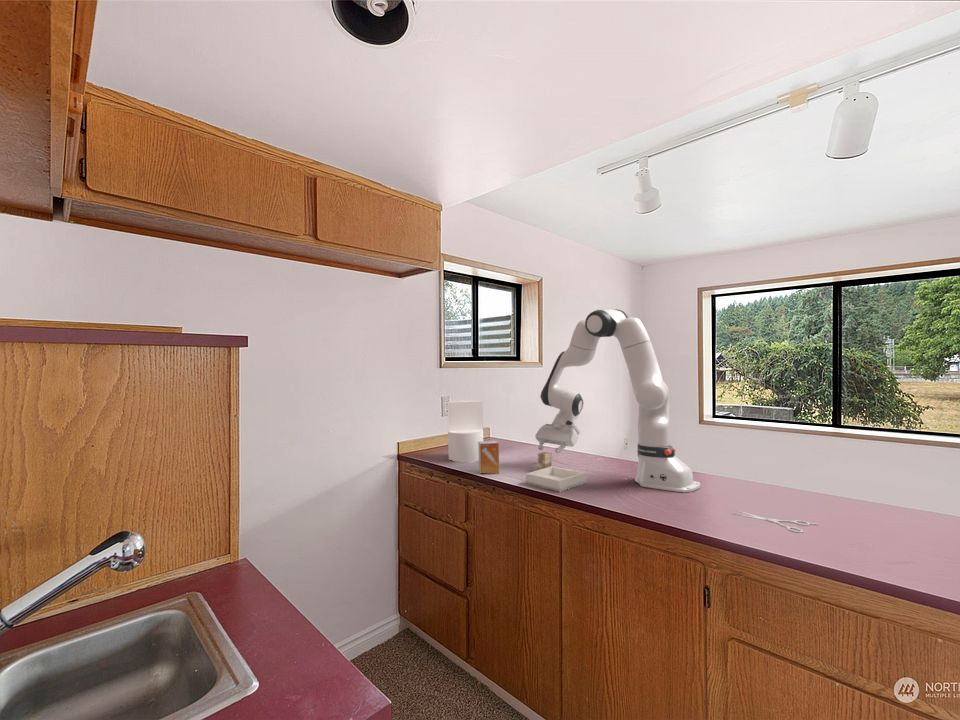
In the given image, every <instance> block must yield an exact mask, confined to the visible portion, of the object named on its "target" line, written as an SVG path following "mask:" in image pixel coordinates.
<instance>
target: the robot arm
mask: <svg viewBox="0 0 960 720" xmlns="http://www.w3.org/2000/svg"><path fill="white" fill-rule="evenodd" d="M610 337H611V338H612V337H614V338H616V339H617V341H618V343H619V346H620V349H621V351H622V355H623V357H624V360H625V364H626V366H627V369H628V373H629V378H630V383H631V386H632V389H633V394H634V396H635V399H636V402H637V403H638V418H637V419H638V420H637V429H638V430H637V431H638V432H637V434H638V435H637V436H638V443H637V458H638V463H637V469H636V470H637V471H636V475H635V478H634V481H635V482H636V483H637V484H639V486H640V487H643V488H650V489H656V490H662V491H669V492H670V491H671V492H677V493H691V492H694V491H697V490H699V489H700V488H701V483H700V482H699V481H696V480H694V475H693V474H694V473H693V471H692V469H691V467H690V466H688V465H687V464H686V463H684V462H683V461H682V460H681V459H679V458H678V457H677V456H676V452H677V451H678V450H677V447H673V446H672V445H671V443H670V441H671V440H670V439H671V438H670V390H669V389H670V388H669V387H668V385H667V384H666V382H664V379H663V376H662V375H663V374H662V372H661V369H660V366H659V362H658V359H657V355H656V352H655V349H654V347H653V343H652V341H651V339H650V336H649V333H648V331H647V329H646V327H645V326H644V324H643V322H642V321H641V319H640V318H638V317H632V316H631V317H629V315H628V314H627V313H626V312H624V311H623V310H620V309H617V308H615V309H613V308H612V309H610V308H604V309H596V310H593V311H591V312H590V313H589V314H588V315H587V316H586V318H585V319H582V320H580V321H578V322H577V324H576V325H575V327H574V331H573V333H572V336H571V339H570V343H569V346H568V347H567V349H566V350H565V351H561V352H560V354H559V355H558V357H557V358H556V360H555V362H554V364H553V366H552V370H551V372H550V373H549V376H548V378H547V380H546V382H545V384H544V386H543V387H542V390H541V392H540V396H539V397H540V400H541V402H542V403H543V405H545V406H548V407H552V408H554V409H558V410H559V412H558V413H557V414H556V415H555V416H554V419H553V420H552V421H551V423H546V424H543V425H542V426H541V427H540V428H539V429H538V430H537V432H536V433H535V434H534V435H535V440H536V441H537V442H538V443H539V445H538V446H537V447H538V450H540V451H543V450H544V449H545V446H544V445H545V444H551V445H557V447H556V448H555V453H556V454H560V453H561V452H562V450H564V449H565V448H566V447H569V448H570V447H571V448H572V447H575V445H576V444H577V441H578V439H579V435H580V434H581V430H580V428H579V426H578V425H577V424H576V423H575V421H576V420H577V419H578V418H579V416H580V413H581V412H582V410H583V408H584V399H583V396H582V395H581V394H580V393H578V392H577V391H575V390H572V389H568V388H565V387H563V386H560V385H558V382H559V380H560V377H561V376H562V373H563V371H564V369H565V368H568V367H569V368H570V367H581V366H586V365H588V364H589V363H591V362H592V361H593V359H594V356H595V354H596V350H597V348H598V347H597V346H598V343H599V340H600V339H601V338H610Z"/></svg>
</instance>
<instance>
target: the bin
mask: <svg viewBox="0 0 960 720" xmlns="http://www.w3.org/2000/svg"><path fill="white" fill-rule="evenodd" d="M586 476H587V475H586V472H583V471H577V470H572V469H568V468H564V467H558V466H554V465H552V466H551V467H548V468H544V469H541V470H538V469H537V470H533V471H531V472H526V473H525V484H526V485H529V486H532V485H533V487H536V486H537V487H536V488H541V489H544V488H545V490H548V489H551V490H550V491H552V490H555V491H554V492H556V491H559V492H558V493H561V492H560V491H562V492H564V491H563V490H565V491H568V490H570V488H571V489H574V488H576V486H577V487H579V485H580V486H582V485H585V484H587V483H586V481H587V477H586ZM573 487H574V488H573ZM567 489H568V490H567Z"/></svg>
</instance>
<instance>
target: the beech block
mask: <svg viewBox="0 0 960 720" xmlns="http://www.w3.org/2000/svg"><path fill="white" fill-rule="evenodd" d="M537 462H538V464H537V465H538V467H537V468H538V469H537V470H541V469H544V468H548V467H551V466H553V465H552V463H553V462H552V452H546V451H542V452H538V453H537Z"/></svg>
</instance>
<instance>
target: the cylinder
mask: <svg viewBox="0 0 960 720" xmlns="http://www.w3.org/2000/svg"><path fill="white" fill-rule="evenodd" d="M446 404H447V437H448V439H447V442H448V443H447V444H448V445H447V446H448V447H447V448H448V460H449V459H450V460H453V461H461V462H468V463H471V462H470V461H477V462H479V461H478V460H479V451H478V441H484V419H483V418H484V417H483V416H484V414H483V413H484V411H483V410H484V409H483V401H482V400H476V399H475V400H470V399H468V400H466V399H465V400H451V401H450V400H449V401H448V402H447V403H446ZM450 460H449V461H450Z"/></svg>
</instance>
